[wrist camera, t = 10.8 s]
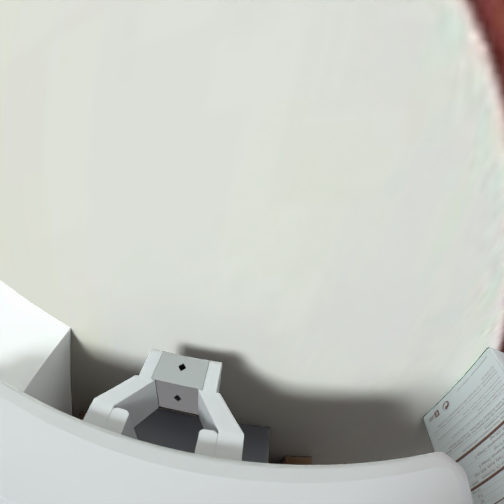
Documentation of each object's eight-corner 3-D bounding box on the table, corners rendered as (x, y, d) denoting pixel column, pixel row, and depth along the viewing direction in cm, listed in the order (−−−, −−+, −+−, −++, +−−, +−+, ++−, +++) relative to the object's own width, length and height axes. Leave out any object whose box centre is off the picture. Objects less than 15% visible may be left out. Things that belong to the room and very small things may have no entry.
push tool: (269, 426, 16) (267, 488, 12) (236, 502, 24) (232, 533, 20) (116, 395, 16) (92, 448, 12) (150, 485, 24) (142, 515, 20)
